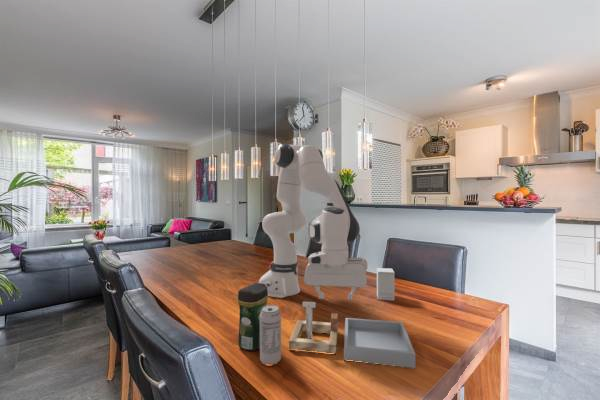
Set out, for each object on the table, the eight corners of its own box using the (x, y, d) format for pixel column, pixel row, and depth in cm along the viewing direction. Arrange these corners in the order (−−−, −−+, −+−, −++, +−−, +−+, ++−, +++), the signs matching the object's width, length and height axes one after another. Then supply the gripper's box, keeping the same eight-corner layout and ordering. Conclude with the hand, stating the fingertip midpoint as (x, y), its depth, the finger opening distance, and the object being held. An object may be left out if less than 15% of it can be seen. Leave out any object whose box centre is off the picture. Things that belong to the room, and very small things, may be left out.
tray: (344, 361, 78) (344, 347, 78) (345, 329, 96) (345, 317, 96) (415, 368, 74) (415, 353, 74) (402, 333, 93) (402, 322, 93)
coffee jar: (252, 333, 93) (252, 279, 93) (272, 339, 90) (272, 282, 89) (233, 347, 85) (232, 287, 85) (254, 354, 81) (253, 292, 81)
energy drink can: (281, 354, 81) (281, 304, 81) (280, 367, 75) (280, 312, 75) (261, 355, 81) (260, 304, 81) (258, 367, 75) (258, 313, 75)
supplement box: (394, 301, 122) (395, 272, 122) (377, 299, 123) (377, 271, 123) (392, 295, 129) (392, 268, 129) (376, 294, 131) (376, 267, 130)
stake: (302, 345, 86) (302, 303, 86) (303, 342, 88) (303, 301, 88) (315, 346, 85) (315, 304, 85) (315, 343, 87) (315, 301, 87)
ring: (289, 350, 83) (288, 327, 83) (297, 328, 97) (297, 308, 97) (335, 355, 81) (335, 331, 81) (337, 331, 94) (337, 311, 94)
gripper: (366, 255, 92) (367, 296, 92) (306, 254, 95) (306, 294, 96) (367, 259, 86) (368, 304, 86) (303, 258, 89) (303, 301, 89)
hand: (335, 298), depth 91 cm, fingers open, 8 cm apart
